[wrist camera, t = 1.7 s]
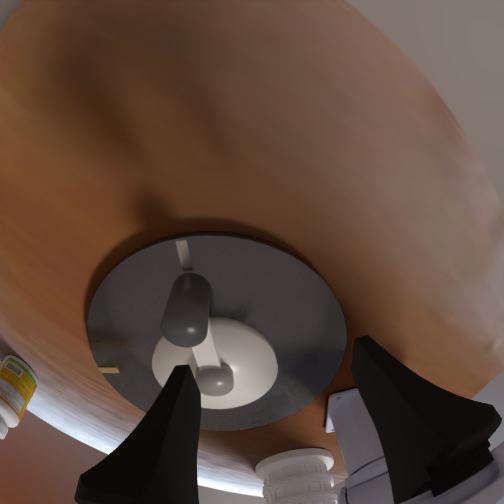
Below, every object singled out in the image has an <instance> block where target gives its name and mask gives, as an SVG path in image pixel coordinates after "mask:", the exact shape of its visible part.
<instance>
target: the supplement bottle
mask: <svg viewBox="0 0 504 504" xmlns="http://www.w3.org/2000/svg"><path fill="white" fill-rule="evenodd" d="M37 385H38V380H37V377H36V375H35V373H34V372H33V371H32V370H31V368H30V367H29V366H28V365H27V364H26V363H24V362H23V361H22V360H21V359H19V358H17V357H15V356H13V355H7V356H5V358H4V359H3V360H2V362H1V363H0V439H4V438H5V436H6V434H7V431H8V428H7V427H16V426H17V425H18V423H19V421H20V419H21V417H22V415H23V413H24V411H25V409H26V407H27V405H28V403H29V401H30V399H31V397H32V395H33V393H34V391H35V389H36V387H37Z"/></svg>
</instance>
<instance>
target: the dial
mask: <svg viewBox="0 0 504 504" xmlns="http://www.w3.org/2000/svg"><path fill="white" fill-rule="evenodd" d="M210 300H211V286H210V284H209V282H208V281H207V280H206V279H205V278H204V277H203V276H201V275H199V274H195V273H185V274H182V275H180V276H179V277H178V278H176V280H175V281H174V283H173V286H172V289H171V292H170V295H169V298H168V301H167V304H166V308H165V311H164V314H163V317H162V320H161V324H160V329H161V332H162V334H163V335H162V336H161V337H160V338H159V340H158V342H157V344H156V347H155V350H154V354H153V358H152V369H153V373H154V375H155V378H156V379H157V381H158V383H159V384H160V385H161V386H162V387H164V385H165V383H166V381H167V379H168V378H169V376H170V374H171V372H172V370H173V368H174V367H175V366H176V365H187V364H189V365H190V368H191V370H192V373H193V375H194V378H195V380H196V383H197V385H198V388H199V390H200V392H201V407H202V408H209V409H228V408H235V407H239V406H243V405H246V404H248V403H251V402H253V401H255V400H257V399H259V398H260V397H261V396H263V395H264V394H265V393H266V392H267V391H268V390H269V389H270V388H271V387H272V385H273V384H274V382H275V380H276V377H277V372H278V365H277V360H276V355H275V351H274V348H273V346H272V344H271V343H270V341H269V340H268V339H267V338H266V337H265V336H264V335H263V334H262V333H261V332H260V331H258V330H257V329H255V328H254V327H252V326H250V325H248V324H246V323H243V322H241V321H238V320H234V319H230V318H224V317H212V316H209V310H210Z"/></svg>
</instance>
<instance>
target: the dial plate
mask: <svg viewBox="0 0 504 504" xmlns="http://www.w3.org/2000/svg"><path fill="white" fill-rule="evenodd" d="M185 273H195V274H199V275H201V276H203V277H204V278H205V279H206V280H207V281H208V282H209V284H210V286H211V300H210V310H209V316H212V317H224V318H230V319H234V320H238V321H241V322H243V323H246V324H248V325H250V326H252V327H254V328H255V329H257V330H258V331H260V332H261V333H262V334H263V335H264V336H265V337H266V338H267V339H268V340H269V341H270V343H271V344H272V346H273V348H274V351H275V355H276V360H277V365H278V372H277V377H276V380H275V382H274V384H273V385H272V387H271V388H270V389H269V390H268V391H267V392H266V393H265V394H264V395H263V396H261V397H260V398H259V399H257V400H255V401H253V402H251V403H248V404H246V405H243V406H239V407H235V408H228V409H209V408H202V407H201V421H200V430H208V431H236V430H244V429H251V428H256V427H260V426H264V425H267V424H271V423H274V422H277V421H279V420H281V419H284V418H286V417H288V416H290V415H292V414H294V413H296V412H298V411H299V410H301V409H302V408H304V407H305V406H307V405H308V404H310V403H311V402H312V401H313V400H315V399H316V398H317V397H318V396H319V395H320V394H321V393H322V392H323V391H324V390H325V389H326V388H327V387H328V385H329V384H330V383H331V381H332V380H333V378H334V377H335V375H336V373H337V372H338V370H339V368H340V366H341V363H342V360H343V357H344V354H345V349H346V343H347V329H346V324H345V318H344V315H343V312H342V309H341V307H340V304H339V302H338V300H337V299H336V297H335V295H334V294H333V292H332V290H331V289H330V287H329V285H328V284H327V282H326V281H325V280H324V279H323V278H322V277H321V275H320V274H319V273H318V272H317V271H316V270H315V269H314V268H312V267H311V266H310V265H309V264H308V263H307V262H305V261H304V260H303V259H301V258H300V257H298V256H297V255H295V254H293V253H292V252H290V251H289V250H287V249H285V248H282V247H280V246H278V245H276V244H273V243H271V242H269V241H266V240H262V239H259V238H256V237H252V236H249V235H243V234H237V233H231V232H217V231H200V232H190V233H182V234H177V235H173V236H169V237H165V238H161V239H159V240H156V241H154V242H151V243H149V244H146V245H144V246H142V247H140V248H139V249H137V250H135V251H133V252H132V253H130V254H129V255H127V256H126V257H125V258H124V259H122V260H121V261H120V262H119V263H118V264H116V265H115V267H114V268H113V269H112V270H111V271H110V272H109V273H108V275H107V276H106V277H105V278H104V280H103V281H102V283H101V284H100V286H99V288H98V289H97V291H96V293H95V294H94V297H93V300H92V302H91V305H90V308H89V314H88V320H87V334H88V340H89V345H90V349H91V351H92V354H93V357H94V360H95V361H96V363H97V365H98V367H99V369H100V371H101V373H102V374H103V375H104V377H105V378H106V379H107V381H108V382H109V383H110V384H111V385H112V386H113V388H114V389H115V390H116V391H117V392H119V393H120V394H121V395H122V396H123V397H124V398H125V399H127V400H128V401H129V402H131V403H132V404H133V405H135V406H136V407H138V408H140V409H141V410H143V411H145V412H146V413H147V412H148V410H149V409H150V407H151V406H152V405H153V403H154V401H155V400H156V398H157V397H158V395H159V393H160V392H161V390H162V388H163V387H162V386H161V385H160V384H159V383H158V381H157V379H156V378H155V375H154V373H153V369H152V358H153V354H154V350H155V347H156V344H157V342H158V340H159V338H160V337H161V336H162V335H163V334H162V332H161V329H160V324H161V320H162V317H163V314H164V311H165V308H166V304H167V301H168V298H169V295H170V292H171V289H172V286H173V283H174V281H175V280H176V278H178V277H179V276H180V275H182V274H185Z"/></svg>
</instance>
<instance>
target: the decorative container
mask: <svg viewBox="0 0 504 504" xmlns="http://www.w3.org/2000/svg"><path fill="white" fill-rule="evenodd" d="M333 464H334V460H333V457H332V454H331V452H329V451H328V450H325V449H320V448H305V449H296V450H290V451H286V452H282V453H278V454H275V455H272V456H269V457H267V458H265V459H263V460H262V461H260V462H259V463H258V464H257V465H256V467H255V473H256V478H257V479H258V480H260V481H262V482H264V487H263V492H262V493H263V496H264V498H265V499H266V504H337V497H338V496H337V494H336V493H335V492H333V490H332V487H333V485H334V479H333V477H332V476H331V474H329V473H328V470H329V469H330V468H331V467H332V466H333Z"/></svg>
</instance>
